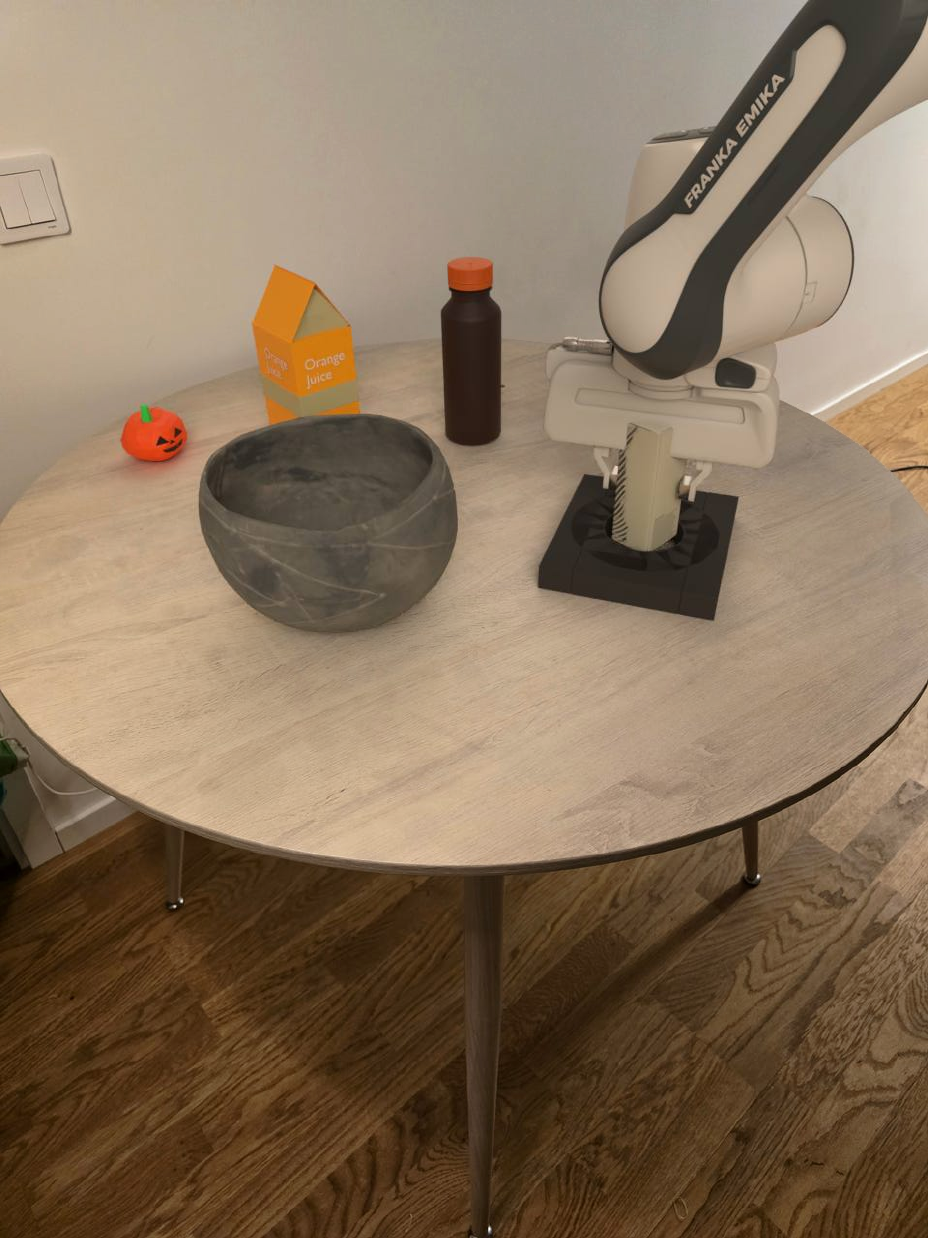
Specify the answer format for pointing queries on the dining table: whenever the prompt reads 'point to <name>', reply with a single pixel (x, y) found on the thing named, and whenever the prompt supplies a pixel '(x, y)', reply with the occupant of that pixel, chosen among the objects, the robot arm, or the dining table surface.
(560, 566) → the pad
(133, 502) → the dining table surface
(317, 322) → the orange juice
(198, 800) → the dining table surface
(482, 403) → the bottle
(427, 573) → the bowl
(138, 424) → the pumpkin
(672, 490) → the box
